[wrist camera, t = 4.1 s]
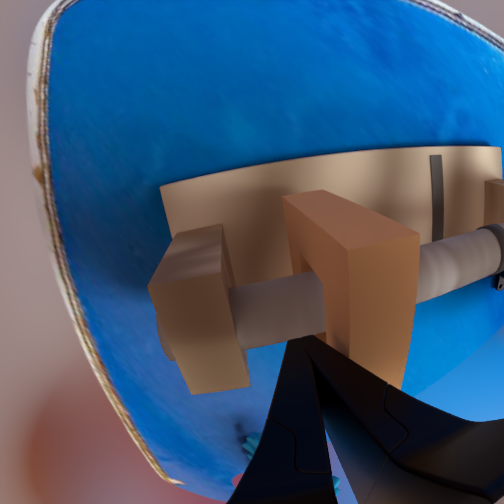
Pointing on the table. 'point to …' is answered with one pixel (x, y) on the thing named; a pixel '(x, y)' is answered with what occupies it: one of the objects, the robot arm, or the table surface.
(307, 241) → the collar
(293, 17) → the table surface
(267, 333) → the pipe rig
